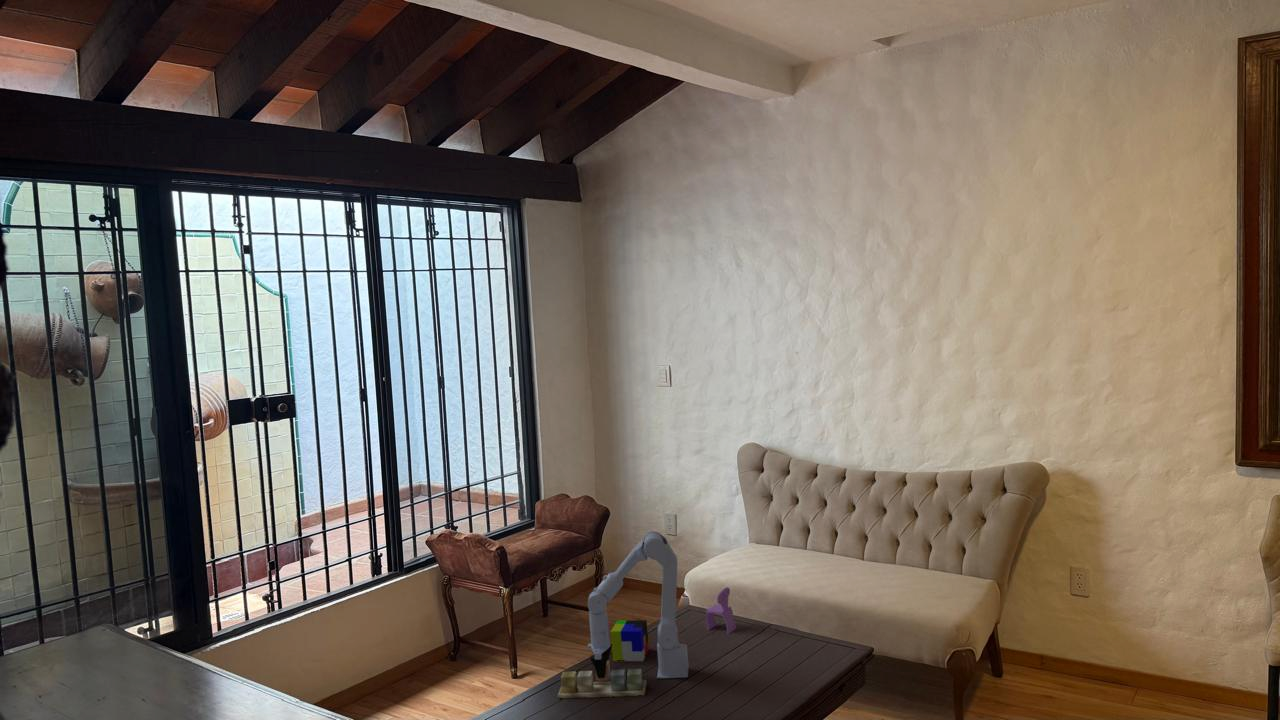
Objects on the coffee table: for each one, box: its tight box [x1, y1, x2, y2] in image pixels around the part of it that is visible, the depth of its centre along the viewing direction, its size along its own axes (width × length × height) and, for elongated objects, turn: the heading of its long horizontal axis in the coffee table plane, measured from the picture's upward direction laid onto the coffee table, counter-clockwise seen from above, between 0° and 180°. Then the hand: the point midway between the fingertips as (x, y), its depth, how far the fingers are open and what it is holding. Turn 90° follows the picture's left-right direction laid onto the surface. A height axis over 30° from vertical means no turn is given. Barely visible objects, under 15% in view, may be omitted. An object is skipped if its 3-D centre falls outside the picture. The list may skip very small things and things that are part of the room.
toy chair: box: [705, 586, 738, 635], centre depth 310 cm, size 8×9×15 cm
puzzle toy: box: [610, 619, 650, 662], centre depth 293 cm, size 10×10×10 cm
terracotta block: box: [594, 659, 611, 682], centre depth 276 cm, size 4×4×5 cm
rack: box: [557, 668, 647, 699], centre depth 267 cm, size 26×8×6 cm, turn 85°
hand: (603, 673), depth 276 cm, fingers open, 6 cm apart
